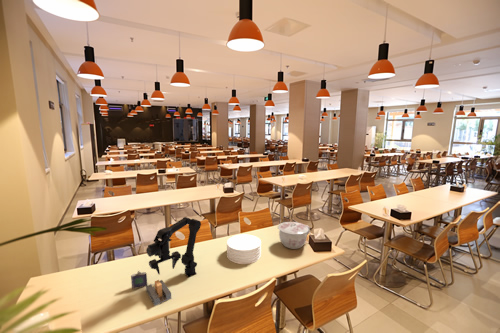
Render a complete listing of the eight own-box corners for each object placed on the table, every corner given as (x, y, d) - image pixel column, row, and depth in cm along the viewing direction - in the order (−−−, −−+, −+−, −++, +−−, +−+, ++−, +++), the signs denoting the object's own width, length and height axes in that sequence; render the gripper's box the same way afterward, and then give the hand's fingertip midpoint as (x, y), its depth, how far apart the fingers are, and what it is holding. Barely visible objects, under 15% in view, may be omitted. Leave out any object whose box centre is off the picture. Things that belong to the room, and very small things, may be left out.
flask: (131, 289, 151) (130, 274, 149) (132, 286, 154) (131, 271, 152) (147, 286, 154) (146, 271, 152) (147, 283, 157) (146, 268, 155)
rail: (162, 285, 155) (162, 279, 155) (171, 298, 143) (171, 292, 142) (146, 291, 149) (146, 286, 148) (154, 306, 137) (154, 300, 136)
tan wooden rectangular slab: (159, 290, 149) (158, 279, 148) (162, 295, 144) (161, 284, 143) (155, 292, 147) (154, 281, 146) (158, 297, 143) (157, 286, 141)
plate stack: (261, 264, 180) (261, 250, 178) (224, 263, 181) (224, 250, 179) (260, 246, 208) (260, 234, 206) (229, 246, 208) (228, 234, 207)
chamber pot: (274, 250, 201) (274, 227, 198) (279, 236, 227) (280, 216, 224) (307, 255, 193) (309, 231, 190) (309, 240, 219) (310, 219, 216)
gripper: (173, 239, 160) (175, 260, 163) (145, 249, 148) (147, 271, 151) (180, 246, 152) (181, 268, 154) (150, 256, 140) (152, 280, 143)
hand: (166, 271), depth 151 cm, fingers open, 9 cm apart
